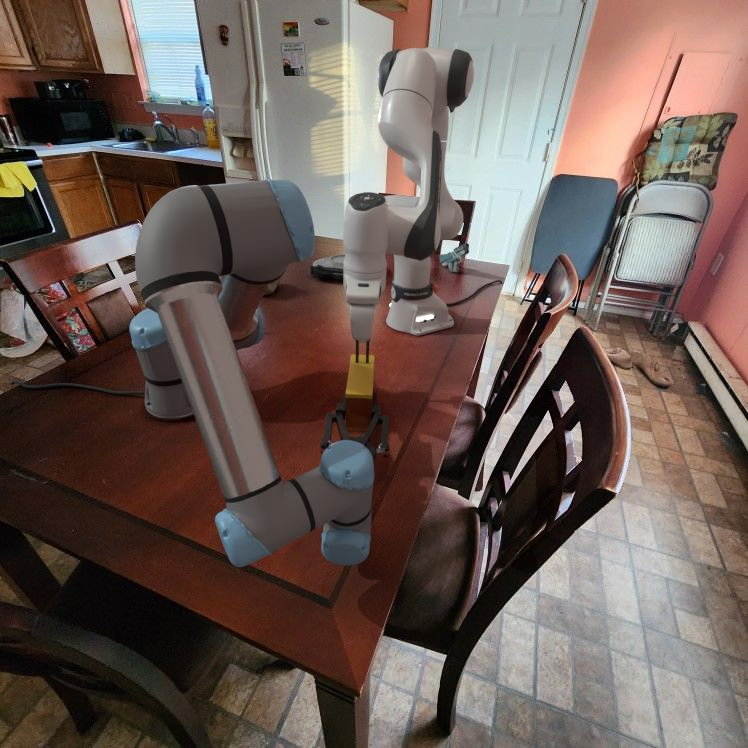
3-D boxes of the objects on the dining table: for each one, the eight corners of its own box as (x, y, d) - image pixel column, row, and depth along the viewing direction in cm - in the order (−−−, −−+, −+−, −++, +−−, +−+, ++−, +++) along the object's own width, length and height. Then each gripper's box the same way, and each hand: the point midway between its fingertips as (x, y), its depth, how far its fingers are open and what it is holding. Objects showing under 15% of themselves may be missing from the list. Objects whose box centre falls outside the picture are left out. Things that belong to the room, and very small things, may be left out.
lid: (351, 357, 100) (351, 324, 95) (374, 358, 100) (375, 325, 95) (345, 397, 87) (345, 361, 82) (372, 398, 87) (373, 363, 82)
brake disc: (371, 289, 156) (371, 277, 153) (298, 278, 162) (298, 266, 160) (392, 263, 182) (392, 252, 179) (328, 254, 188) (328, 243, 185)
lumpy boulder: (291, 289, 158) (274, 291, 144) (265, 297, 161) (246, 299, 146) (282, 260, 156) (264, 259, 141) (256, 268, 159) (236, 268, 144)
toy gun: (467, 266, 164) (462, 241, 163) (442, 277, 182) (438, 255, 181) (474, 265, 165) (470, 240, 164) (449, 276, 183) (445, 254, 182)
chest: (350, 390, 105) (350, 359, 100) (372, 391, 105) (374, 360, 100) (345, 430, 93) (345, 397, 87) (370, 431, 93) (372, 399, 87)
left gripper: (301, 487, 76) (319, 407, 95) (402, 492, 76) (399, 411, 95) (299, 459, 72) (318, 381, 91) (405, 464, 72) (402, 385, 91)
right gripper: (353, 261, 94) (352, 315, 102) (345, 299, 77) (345, 360, 85) (380, 262, 94) (378, 316, 102) (378, 300, 77) (375, 362, 85)
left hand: (359, 397), depth 93 cm, fingers closed on chest, 6 cm apart
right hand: (363, 337), depth 93 cm, fingers closed on lid, 2 cm apart
